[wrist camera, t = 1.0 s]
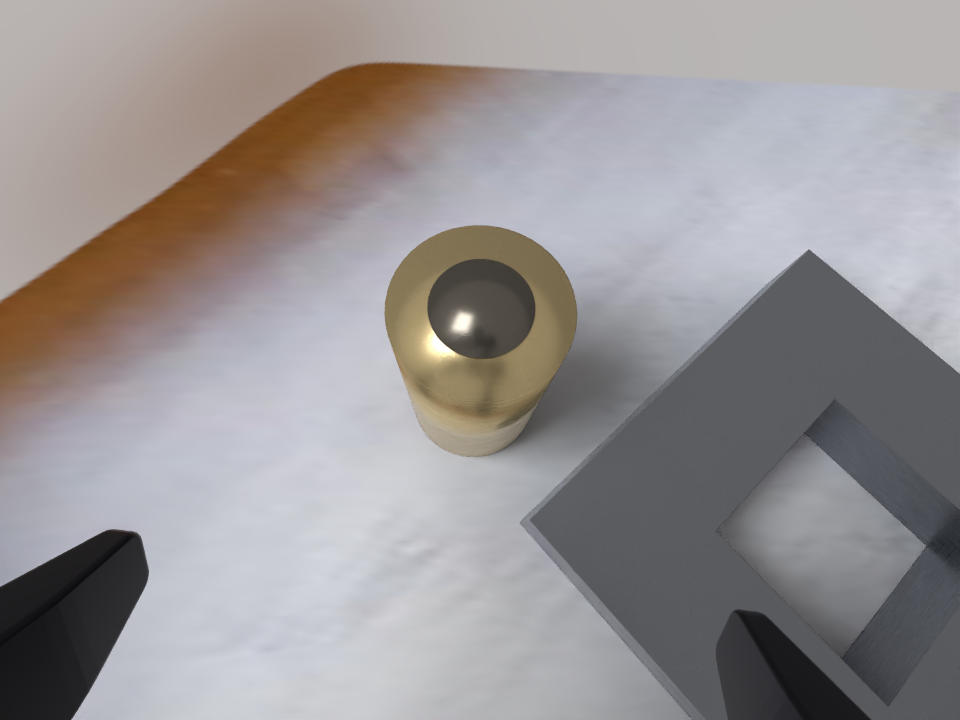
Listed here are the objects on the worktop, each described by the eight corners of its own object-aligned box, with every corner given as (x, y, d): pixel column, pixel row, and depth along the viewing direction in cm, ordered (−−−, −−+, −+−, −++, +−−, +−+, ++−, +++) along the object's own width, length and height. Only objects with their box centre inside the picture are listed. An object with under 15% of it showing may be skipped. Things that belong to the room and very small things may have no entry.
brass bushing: (556, 402, 22) (617, 315, 14) (467, 482, 21) (473, 443, 12) (477, 320, 23) (488, 191, 15) (389, 392, 22) (344, 297, 13)
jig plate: (1083, 555, 21) (1181, 557, 18) (856, 906, 17) (935, 979, 14) (768, 283, 24) (808, 249, 22) (519, 522, 20) (529, 519, 18)
